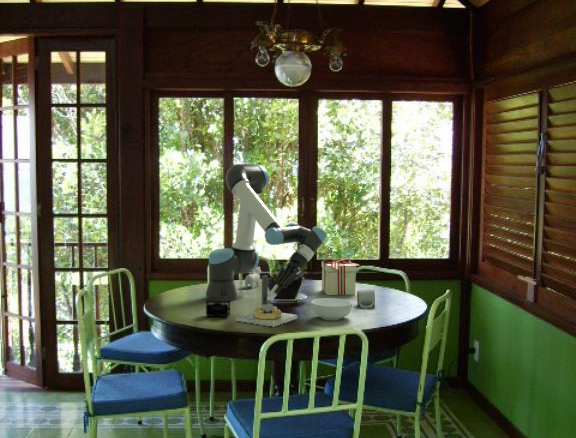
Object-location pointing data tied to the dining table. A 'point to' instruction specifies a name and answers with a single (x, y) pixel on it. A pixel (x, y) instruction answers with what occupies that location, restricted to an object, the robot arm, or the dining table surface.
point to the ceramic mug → (366, 298)
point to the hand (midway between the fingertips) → (269, 298)
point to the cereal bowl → (331, 308)
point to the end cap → (217, 309)
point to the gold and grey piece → (259, 312)
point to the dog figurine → (253, 278)
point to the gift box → (339, 277)
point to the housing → (267, 322)
